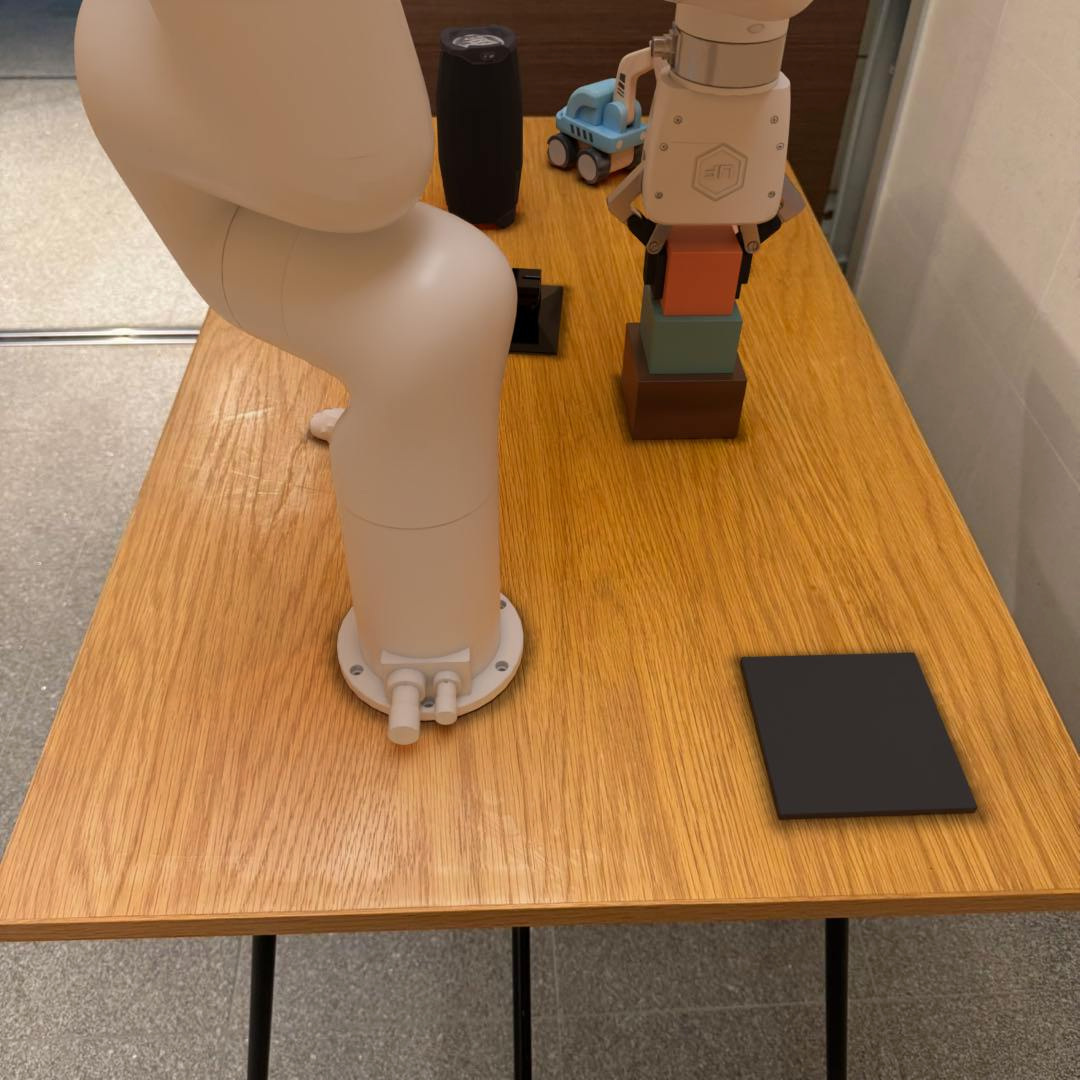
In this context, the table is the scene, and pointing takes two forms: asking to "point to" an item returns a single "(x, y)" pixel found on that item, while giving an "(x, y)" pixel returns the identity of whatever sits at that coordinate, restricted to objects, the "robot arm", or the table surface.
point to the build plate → (536, 314)
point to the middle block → (688, 340)
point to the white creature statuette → (325, 422)
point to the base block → (679, 398)
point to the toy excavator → (604, 122)
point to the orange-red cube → (701, 270)
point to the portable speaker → (480, 123)
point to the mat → (853, 737)
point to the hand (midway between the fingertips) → (693, 289)
